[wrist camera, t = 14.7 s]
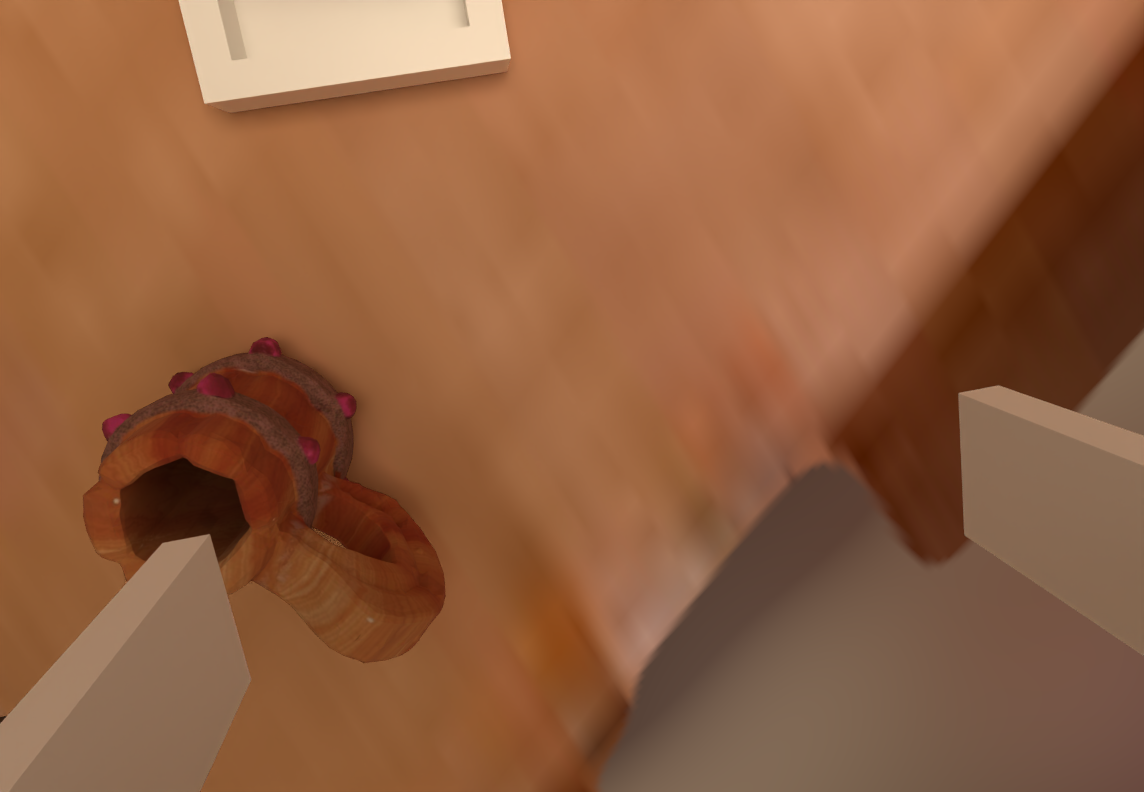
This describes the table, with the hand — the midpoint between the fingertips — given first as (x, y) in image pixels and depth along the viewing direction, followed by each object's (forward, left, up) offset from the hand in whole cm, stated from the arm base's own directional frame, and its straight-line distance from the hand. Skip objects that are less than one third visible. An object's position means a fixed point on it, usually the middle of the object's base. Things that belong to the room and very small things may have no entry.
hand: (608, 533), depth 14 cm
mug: (-11, -5, -29) cm, 31 cm away
